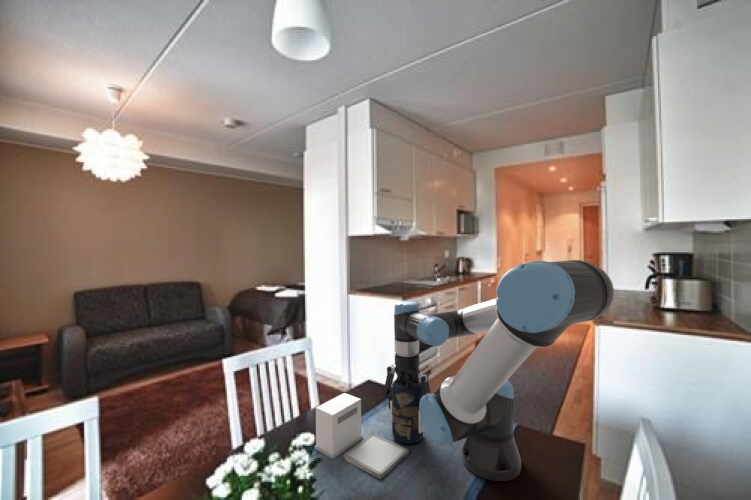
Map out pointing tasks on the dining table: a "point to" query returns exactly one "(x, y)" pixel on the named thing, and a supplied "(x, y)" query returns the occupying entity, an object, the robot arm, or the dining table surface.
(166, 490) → the dining table surface
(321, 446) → the unit
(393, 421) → the canister
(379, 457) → the mat
